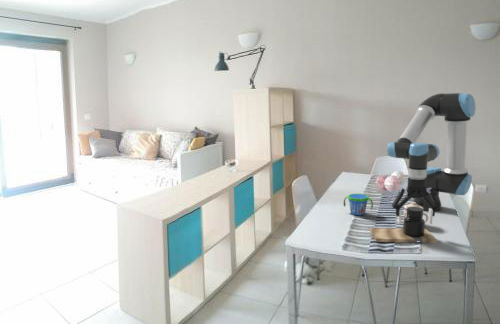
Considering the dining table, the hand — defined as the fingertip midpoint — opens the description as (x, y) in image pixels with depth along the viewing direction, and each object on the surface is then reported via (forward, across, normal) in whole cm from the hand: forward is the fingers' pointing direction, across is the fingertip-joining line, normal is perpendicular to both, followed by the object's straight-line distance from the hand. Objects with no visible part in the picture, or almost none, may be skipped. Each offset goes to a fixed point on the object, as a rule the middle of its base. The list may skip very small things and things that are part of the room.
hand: (414, 222), depth 169 cm
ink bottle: (+5, 0, 0) cm, 6 cm away
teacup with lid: (+7, +6, +15) cm, 18 cm away
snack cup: (+7, -19, +32) cm, 38 cm away
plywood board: (+7, -5, 0) cm, 9 cm away
